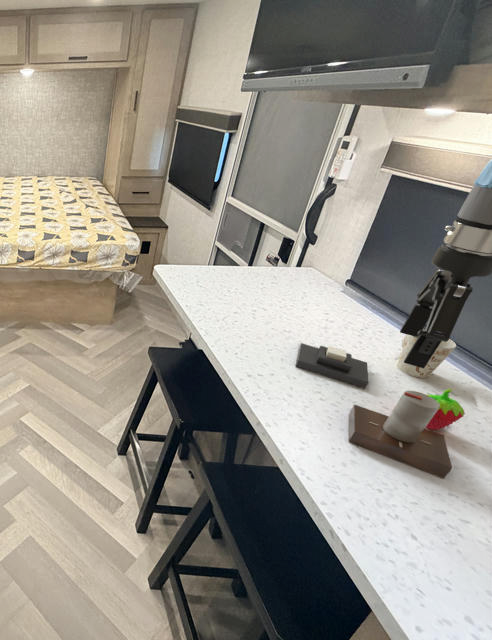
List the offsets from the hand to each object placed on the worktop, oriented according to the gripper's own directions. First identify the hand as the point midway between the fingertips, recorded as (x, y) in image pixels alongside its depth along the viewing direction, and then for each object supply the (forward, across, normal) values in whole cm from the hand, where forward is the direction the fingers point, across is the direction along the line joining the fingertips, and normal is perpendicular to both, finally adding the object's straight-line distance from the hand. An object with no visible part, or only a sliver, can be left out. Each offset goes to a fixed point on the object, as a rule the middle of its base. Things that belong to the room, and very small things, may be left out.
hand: (410, 348), depth 79 cm
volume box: (+19, +6, +4) cm, 20 cm away
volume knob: (+16, +6, +4) cm, 17 cm away
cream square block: (+15, -17, -8) cm, 24 cm away
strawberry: (+19, -5, +9) cm, 22 cm away
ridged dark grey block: (+19, -17, -8) cm, 26 cm away
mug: (+19, -31, +8) cm, 37 cm away
